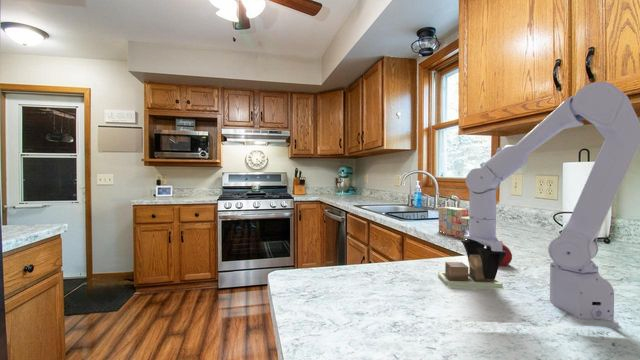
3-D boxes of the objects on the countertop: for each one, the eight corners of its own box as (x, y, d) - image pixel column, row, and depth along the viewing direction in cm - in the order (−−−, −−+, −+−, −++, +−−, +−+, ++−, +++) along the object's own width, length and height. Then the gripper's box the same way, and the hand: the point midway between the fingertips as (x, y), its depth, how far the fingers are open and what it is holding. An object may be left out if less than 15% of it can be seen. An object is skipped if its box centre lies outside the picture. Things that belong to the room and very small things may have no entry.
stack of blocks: (484, 241, 119) (484, 211, 119) (471, 242, 118) (472, 212, 118) (449, 231, 140) (449, 206, 140) (438, 232, 138) (438, 206, 138)
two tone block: (494, 284, 69) (494, 259, 68) (476, 284, 69) (476, 259, 69) (485, 278, 72) (486, 254, 72) (469, 278, 73) (469, 254, 73)
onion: (515, 271, 81) (516, 243, 81) (493, 270, 82) (493, 242, 82) (506, 265, 87) (507, 239, 87) (485, 264, 88) (486, 238, 88)
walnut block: (468, 283, 69) (468, 267, 69) (451, 283, 69) (451, 266, 69) (461, 277, 73) (461, 262, 73) (445, 277, 73) (445, 261, 73)
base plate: (508, 295, 65) (508, 286, 65) (449, 293, 67) (449, 284, 66) (486, 279, 75) (486, 271, 75) (435, 277, 76) (435, 270, 76)
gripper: (454, 213, 78) (453, 263, 78) (479, 222, 64) (478, 283, 64) (481, 214, 77) (480, 264, 78) (512, 223, 63) (512, 284, 63)
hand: (481, 273), depth 71 cm, fingers open, 7 cm apart
